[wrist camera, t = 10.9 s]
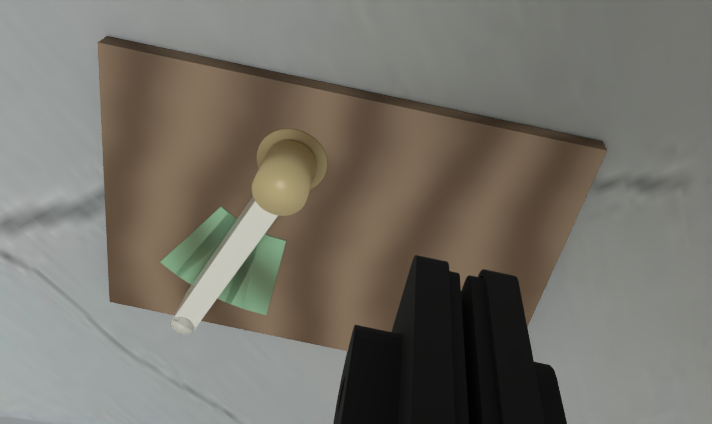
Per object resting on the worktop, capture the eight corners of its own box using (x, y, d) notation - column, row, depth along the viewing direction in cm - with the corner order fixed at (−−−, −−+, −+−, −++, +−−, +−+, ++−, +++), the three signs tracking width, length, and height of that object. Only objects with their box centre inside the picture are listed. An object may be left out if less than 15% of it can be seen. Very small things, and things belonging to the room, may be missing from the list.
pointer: (281, 130, 37) (268, 156, 34) (326, 159, 38) (317, 187, 35) (172, 293, 45) (154, 325, 42) (211, 314, 46) (196, 347, 43)
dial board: (602, 141, 37) (607, 151, 36) (500, 371, 48) (501, 384, 47) (106, 36, 37) (97, 42, 36) (116, 291, 48) (109, 302, 47)
